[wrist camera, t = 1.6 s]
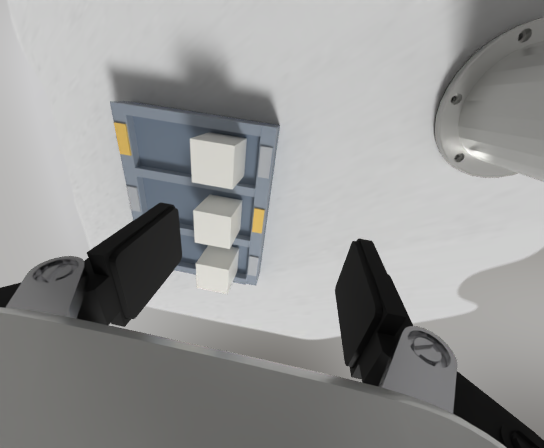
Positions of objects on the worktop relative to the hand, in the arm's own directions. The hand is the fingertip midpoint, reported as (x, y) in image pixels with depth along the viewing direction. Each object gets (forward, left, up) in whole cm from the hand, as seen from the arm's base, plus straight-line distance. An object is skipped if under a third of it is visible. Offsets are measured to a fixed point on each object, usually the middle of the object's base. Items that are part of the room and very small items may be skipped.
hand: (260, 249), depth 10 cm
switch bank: (+10, +7, -18) cm, 22 cm away
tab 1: (+7, 0, -16) cm, 17 cm away
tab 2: (+7, +7, -16) cm, 18 cm away
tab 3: (+7, +14, -16) cm, 22 cm away
